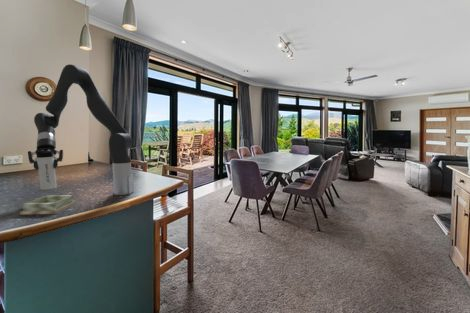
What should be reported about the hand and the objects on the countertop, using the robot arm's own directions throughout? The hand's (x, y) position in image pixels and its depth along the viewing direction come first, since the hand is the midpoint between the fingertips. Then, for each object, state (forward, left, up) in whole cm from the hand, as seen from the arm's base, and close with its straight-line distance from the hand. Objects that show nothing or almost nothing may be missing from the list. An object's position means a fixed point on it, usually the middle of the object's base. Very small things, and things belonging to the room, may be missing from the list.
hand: (46, 168), depth 110 cm
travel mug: (+1, -1, -12) cm, 12 cm away
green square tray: (-8, +11, -17) cm, 21 cm away
